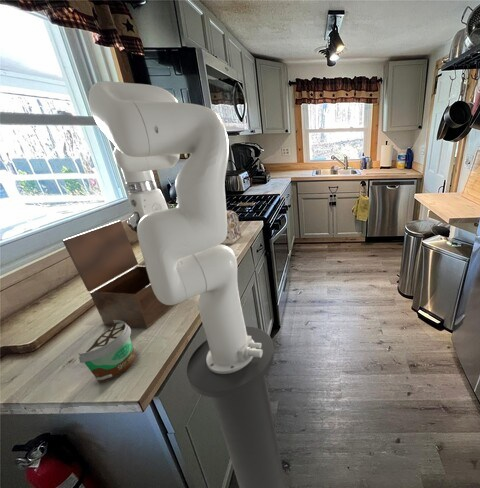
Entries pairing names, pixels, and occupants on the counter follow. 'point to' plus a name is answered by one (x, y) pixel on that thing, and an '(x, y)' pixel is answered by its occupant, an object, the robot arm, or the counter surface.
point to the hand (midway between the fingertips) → (158, 238)
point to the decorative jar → (232, 228)
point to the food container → (110, 353)
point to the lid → (101, 254)
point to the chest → (129, 300)
